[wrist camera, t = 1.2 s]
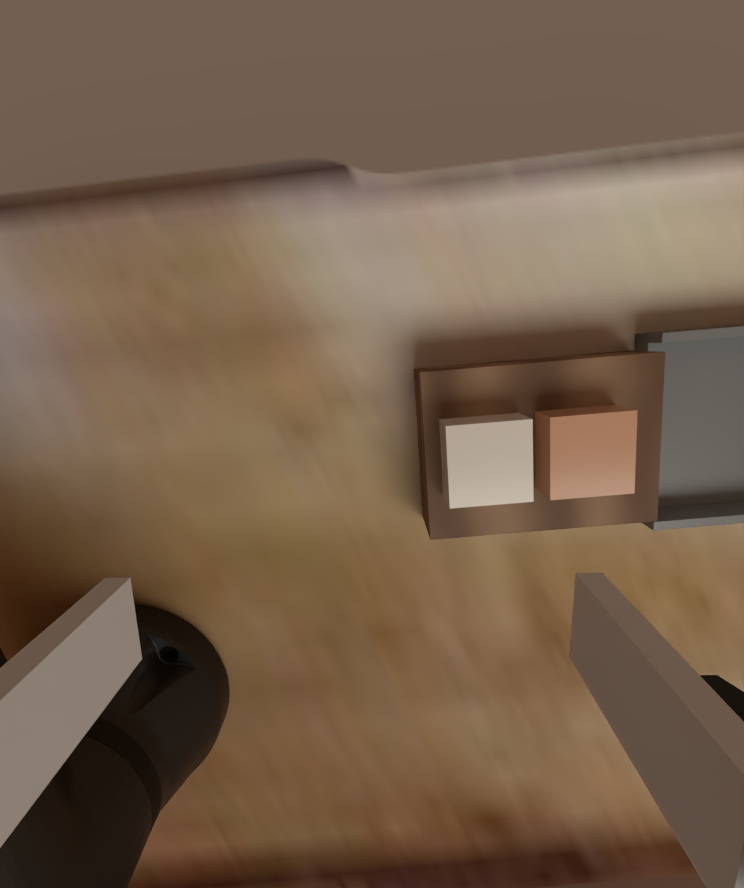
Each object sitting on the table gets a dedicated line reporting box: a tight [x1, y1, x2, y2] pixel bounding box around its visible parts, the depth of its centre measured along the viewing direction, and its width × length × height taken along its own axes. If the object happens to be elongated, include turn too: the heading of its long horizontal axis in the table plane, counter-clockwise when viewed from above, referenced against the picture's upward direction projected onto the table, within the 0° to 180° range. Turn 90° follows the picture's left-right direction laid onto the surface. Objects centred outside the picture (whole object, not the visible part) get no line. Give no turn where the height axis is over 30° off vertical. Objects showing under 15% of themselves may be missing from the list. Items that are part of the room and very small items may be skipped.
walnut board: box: [414, 351, 665, 540], centre depth 32 cm, size 15×11×4 cm
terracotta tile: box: [535, 405, 638, 500], centre depth 28 cm, size 5×5×2 cm
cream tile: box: [439, 413, 534, 509], centre depth 28 cm, size 5×5×2 cm
